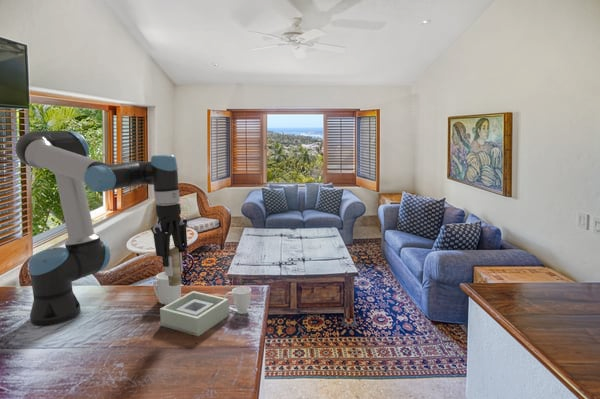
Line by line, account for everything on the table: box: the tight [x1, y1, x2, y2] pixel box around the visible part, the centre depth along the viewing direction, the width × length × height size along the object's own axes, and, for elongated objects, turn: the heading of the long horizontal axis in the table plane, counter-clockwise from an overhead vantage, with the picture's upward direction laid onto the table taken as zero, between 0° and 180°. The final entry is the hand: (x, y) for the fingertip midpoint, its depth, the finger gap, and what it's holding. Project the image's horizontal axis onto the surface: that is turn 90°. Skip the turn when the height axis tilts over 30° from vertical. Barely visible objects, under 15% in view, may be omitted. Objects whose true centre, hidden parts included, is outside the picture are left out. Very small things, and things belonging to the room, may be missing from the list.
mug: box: [152, 271, 182, 306], centre depth 149 cm, size 11×9×10 cm
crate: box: [159, 290, 230, 337], centre depth 135 cm, size 16×16×6 cm
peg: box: [168, 246, 182, 286], centre depth 130 cm, size 4×4×12 cm
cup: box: [223, 285, 252, 315], centre depth 141 cm, size 7×10×8 cm
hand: (174, 273), depth 130 cm, fingers closed on peg, 4 cm apart
